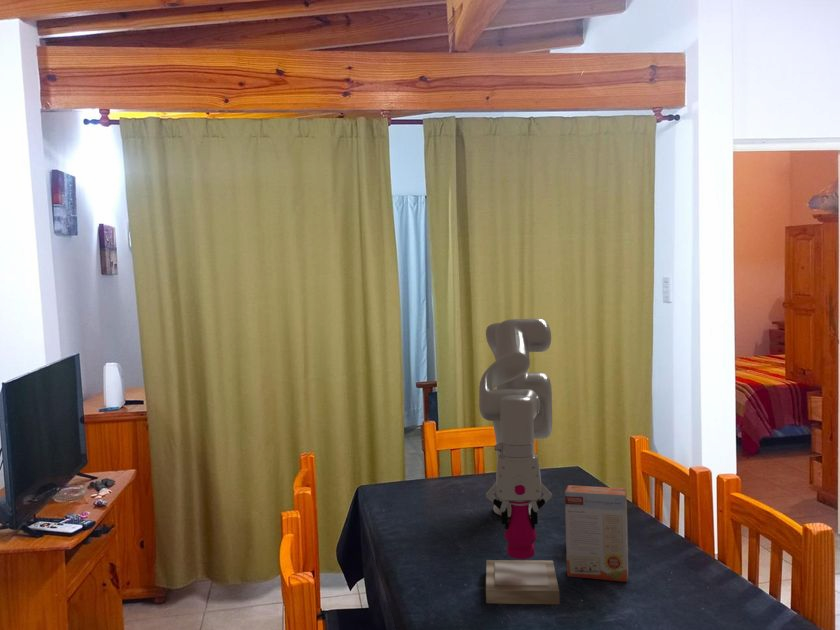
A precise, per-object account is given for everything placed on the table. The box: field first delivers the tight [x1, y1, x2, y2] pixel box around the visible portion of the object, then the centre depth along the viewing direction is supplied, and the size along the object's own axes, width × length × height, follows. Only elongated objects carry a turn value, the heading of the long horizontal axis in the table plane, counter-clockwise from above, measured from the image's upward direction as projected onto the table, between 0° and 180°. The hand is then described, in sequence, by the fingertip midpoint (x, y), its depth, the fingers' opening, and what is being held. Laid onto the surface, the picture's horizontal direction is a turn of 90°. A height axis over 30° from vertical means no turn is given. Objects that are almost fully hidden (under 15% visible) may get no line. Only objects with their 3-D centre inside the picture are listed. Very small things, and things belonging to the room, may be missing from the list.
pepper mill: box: [504, 485, 537, 560], centre depth 164 cm, size 7×7×20 cm
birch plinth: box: [485, 559, 560, 605], centre depth 165 cm, size 16×16×3 cm
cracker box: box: [564, 484, 629, 583], centre depth 170 cm, size 14×6×21 cm, turn 71°
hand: (519, 526), depth 164 cm, fingers closed on pepper mill, 5 cm apart
